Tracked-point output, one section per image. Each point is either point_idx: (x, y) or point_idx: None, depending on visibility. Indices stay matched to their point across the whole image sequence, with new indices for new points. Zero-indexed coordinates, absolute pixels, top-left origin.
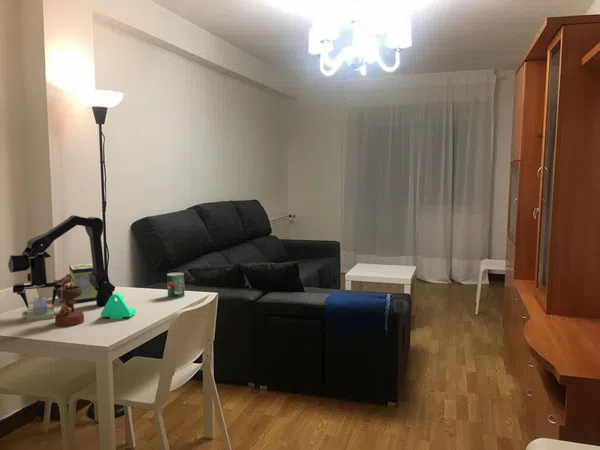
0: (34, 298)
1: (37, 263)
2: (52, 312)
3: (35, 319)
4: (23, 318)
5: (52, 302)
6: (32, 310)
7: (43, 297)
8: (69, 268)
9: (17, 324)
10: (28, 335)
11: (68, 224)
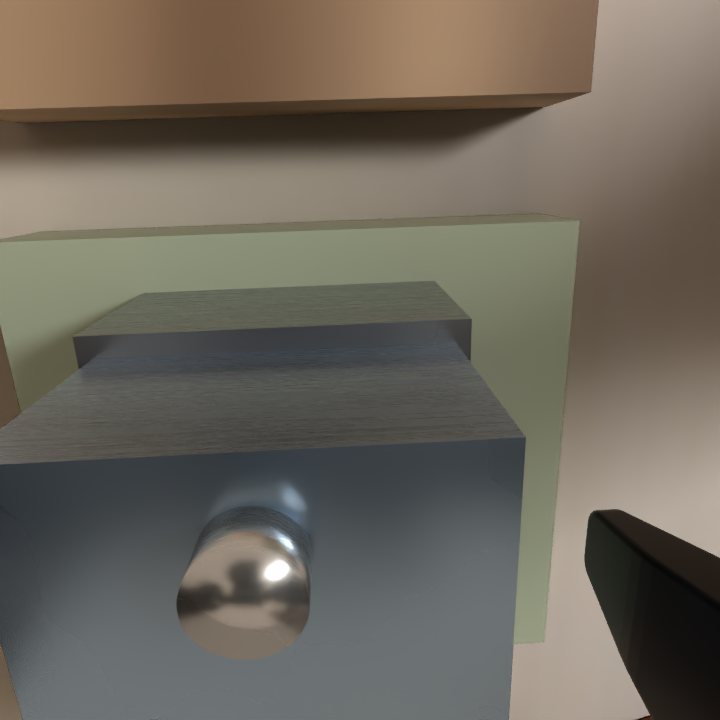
0: (16, 591)
1: None
2: (524, 562)
3: None
4: (7, 393)
5: (635, 663)
6: (79, 110)
7: (405, 537)
8: None
9: (13, 701)
10: None
11: None
